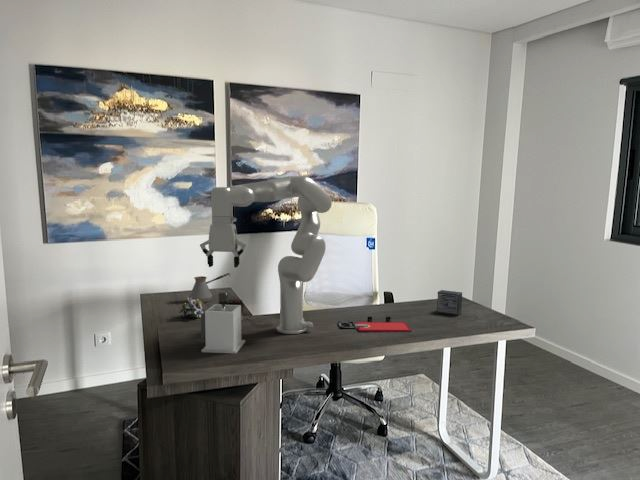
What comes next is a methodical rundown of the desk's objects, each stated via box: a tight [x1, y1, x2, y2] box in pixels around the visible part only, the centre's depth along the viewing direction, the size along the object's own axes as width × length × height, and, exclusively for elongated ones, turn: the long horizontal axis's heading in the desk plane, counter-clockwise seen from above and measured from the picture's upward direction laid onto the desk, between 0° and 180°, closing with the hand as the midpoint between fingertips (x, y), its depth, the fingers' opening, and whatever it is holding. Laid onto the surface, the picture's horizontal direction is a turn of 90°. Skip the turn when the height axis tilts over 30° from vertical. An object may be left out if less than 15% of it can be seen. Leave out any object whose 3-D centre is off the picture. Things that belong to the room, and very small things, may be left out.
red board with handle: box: [337, 316, 413, 333], centre depth 205 cm, size 30×3×15 cm
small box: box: [436, 289, 463, 316], centre depth 229 cm, size 11×6×10 cm, turn 58°
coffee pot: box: [189, 272, 231, 304], centre depth 248 cm, size 21×12×15 cm, turn 97°
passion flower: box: [179, 296, 204, 319], centre depth 217 cm, size 11×11×12 cm
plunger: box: [217, 291, 229, 312], centre depth 177 cm, size 8×8×20 cm
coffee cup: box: [225, 298, 245, 324], centre depth 197 cm, size 9×8×13 cm
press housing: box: [200, 303, 246, 355], centre depth 177 cm, size 15×13×15 cm
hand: (223, 266), depth 175 cm, fingers open, 9 cm apart
